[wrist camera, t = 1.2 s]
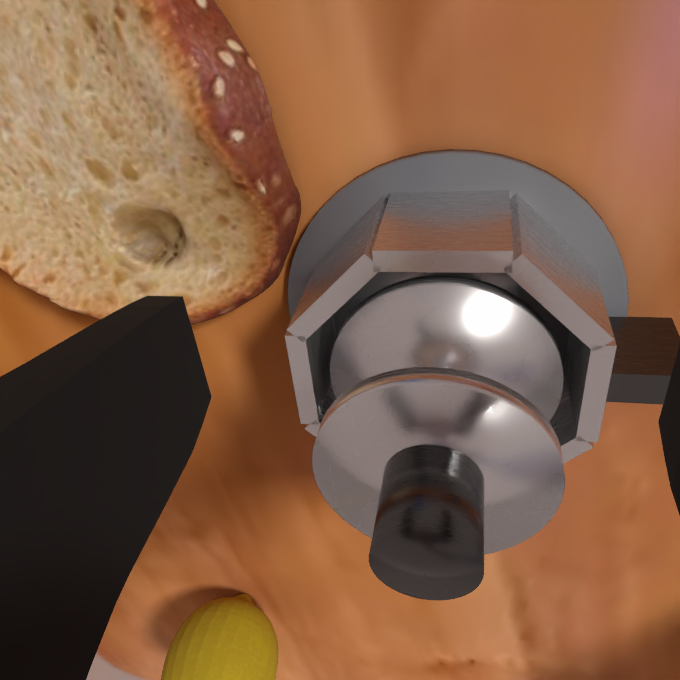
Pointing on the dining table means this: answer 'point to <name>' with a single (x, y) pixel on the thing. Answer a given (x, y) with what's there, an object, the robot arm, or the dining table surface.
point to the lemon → (224, 643)
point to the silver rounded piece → (442, 430)
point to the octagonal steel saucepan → (496, 268)
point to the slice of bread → (137, 157)
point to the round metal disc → (466, 175)
